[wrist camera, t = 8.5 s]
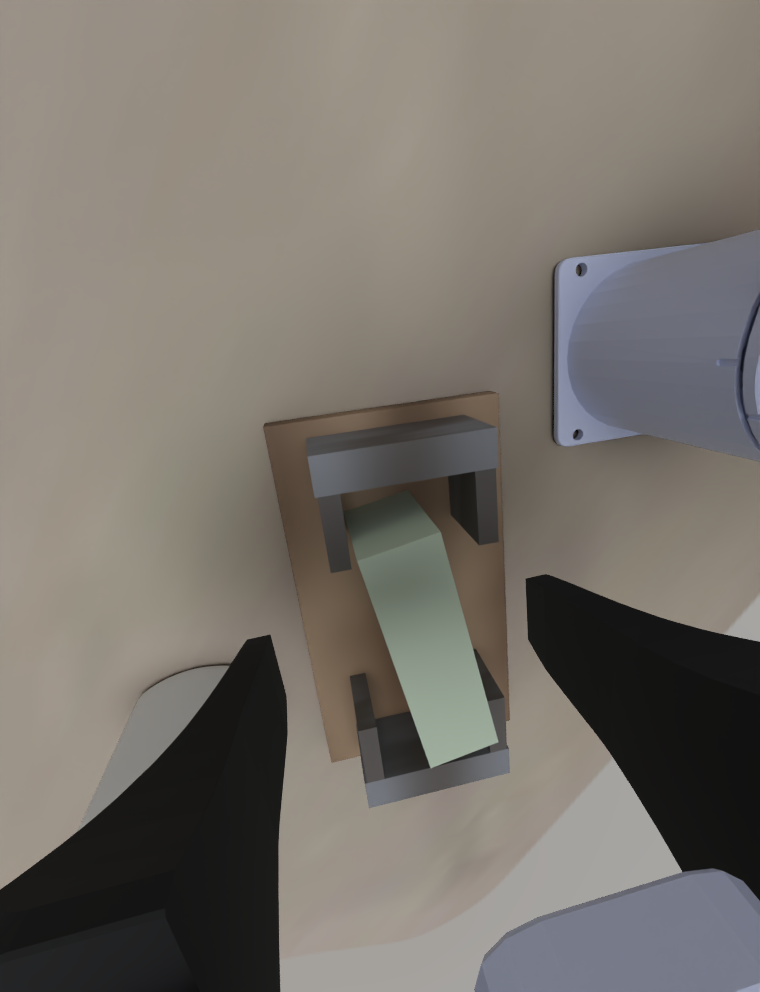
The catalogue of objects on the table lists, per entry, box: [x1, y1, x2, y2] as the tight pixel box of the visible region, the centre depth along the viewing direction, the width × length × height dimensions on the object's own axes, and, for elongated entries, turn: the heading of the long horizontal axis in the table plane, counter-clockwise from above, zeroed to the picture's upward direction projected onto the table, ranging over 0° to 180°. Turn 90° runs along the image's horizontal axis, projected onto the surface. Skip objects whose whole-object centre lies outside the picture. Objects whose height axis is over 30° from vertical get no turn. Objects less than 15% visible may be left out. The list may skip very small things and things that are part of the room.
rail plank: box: [344, 490, 498, 768], centre depth 19 cm, size 3×10×5 cm, turn 17°
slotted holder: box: [263, 391, 510, 808], centre depth 21 cm, size 10×18×4 cm, turn 7°
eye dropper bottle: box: [78, 666, 229, 831], centre depth 17 cm, size 4×6×12 cm
